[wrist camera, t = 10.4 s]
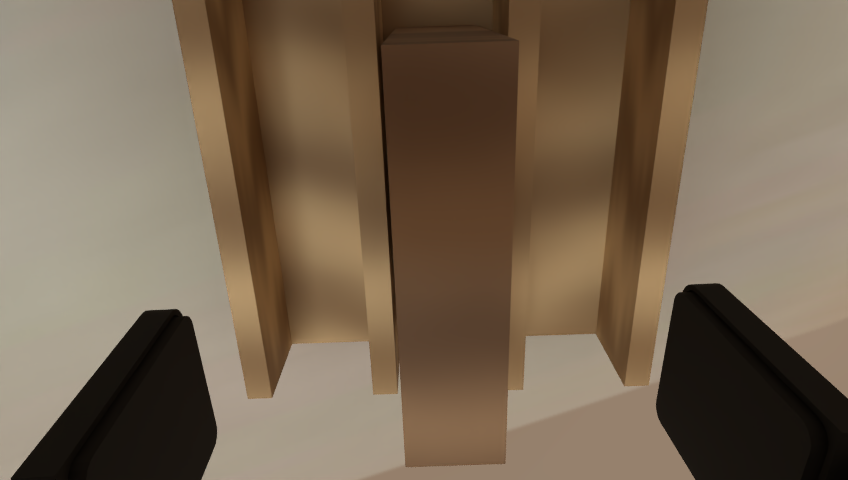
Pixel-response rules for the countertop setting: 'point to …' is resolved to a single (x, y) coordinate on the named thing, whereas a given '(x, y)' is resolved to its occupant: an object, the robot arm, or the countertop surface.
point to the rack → (369, 182)
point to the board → (452, 235)
